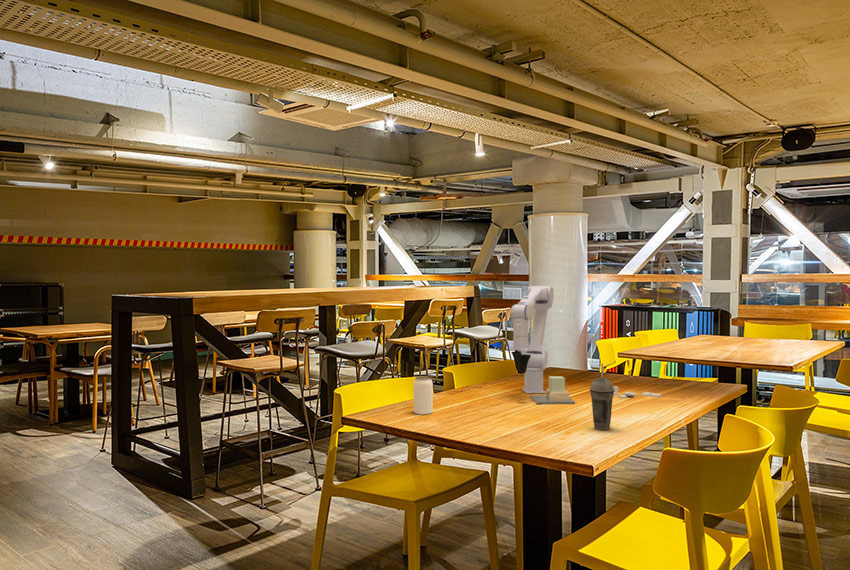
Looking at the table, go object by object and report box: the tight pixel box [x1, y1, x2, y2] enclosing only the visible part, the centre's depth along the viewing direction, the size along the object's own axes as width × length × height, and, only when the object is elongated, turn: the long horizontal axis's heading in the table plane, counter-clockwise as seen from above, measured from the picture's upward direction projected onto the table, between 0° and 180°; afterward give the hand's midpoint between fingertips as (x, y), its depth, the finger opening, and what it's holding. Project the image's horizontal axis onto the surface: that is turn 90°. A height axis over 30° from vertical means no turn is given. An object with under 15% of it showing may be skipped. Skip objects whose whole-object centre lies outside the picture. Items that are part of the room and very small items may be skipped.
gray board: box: [529, 394, 576, 405], centre depth 236 cm, size 13×14×1 cm
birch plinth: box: [545, 388, 570, 401], centre depth 236 cm, size 7×7×3 cm
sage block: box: [548, 375, 566, 392], centre depth 236 cm, size 5×5×5 cm
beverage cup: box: [589, 363, 615, 431], centre depth 192 cm, size 7×7×20 cm
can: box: [413, 376, 434, 416], centre depth 214 cm, size 6×6×12 cm
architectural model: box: [613, 385, 663, 400], centre depth 245 cm, size 20×24×2 cm
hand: (520, 371), depth 240 cm, fingers open, 7 cm apart
